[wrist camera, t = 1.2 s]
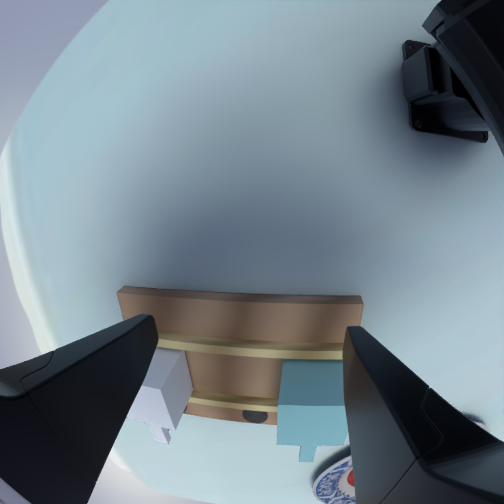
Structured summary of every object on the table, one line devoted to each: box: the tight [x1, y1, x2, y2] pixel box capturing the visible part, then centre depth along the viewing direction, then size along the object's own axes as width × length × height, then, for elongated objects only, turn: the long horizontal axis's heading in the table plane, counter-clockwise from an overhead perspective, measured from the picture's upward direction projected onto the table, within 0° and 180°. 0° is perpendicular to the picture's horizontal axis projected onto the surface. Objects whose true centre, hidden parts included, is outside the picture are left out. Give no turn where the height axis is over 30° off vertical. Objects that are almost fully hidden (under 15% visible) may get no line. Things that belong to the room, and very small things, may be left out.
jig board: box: [117, 286, 363, 425], centre depth 23 cm, size 19×14×2 cm
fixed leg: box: [126, 346, 193, 444], centre depth 22 cm, size 5×9×5 cm, turn 2°
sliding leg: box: [277, 359, 348, 462], centre depth 20 cm, size 5×9×5 cm, turn 2°
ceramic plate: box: [313, 421, 490, 504], centre depth 27 cm, size 26×26×3 cm
